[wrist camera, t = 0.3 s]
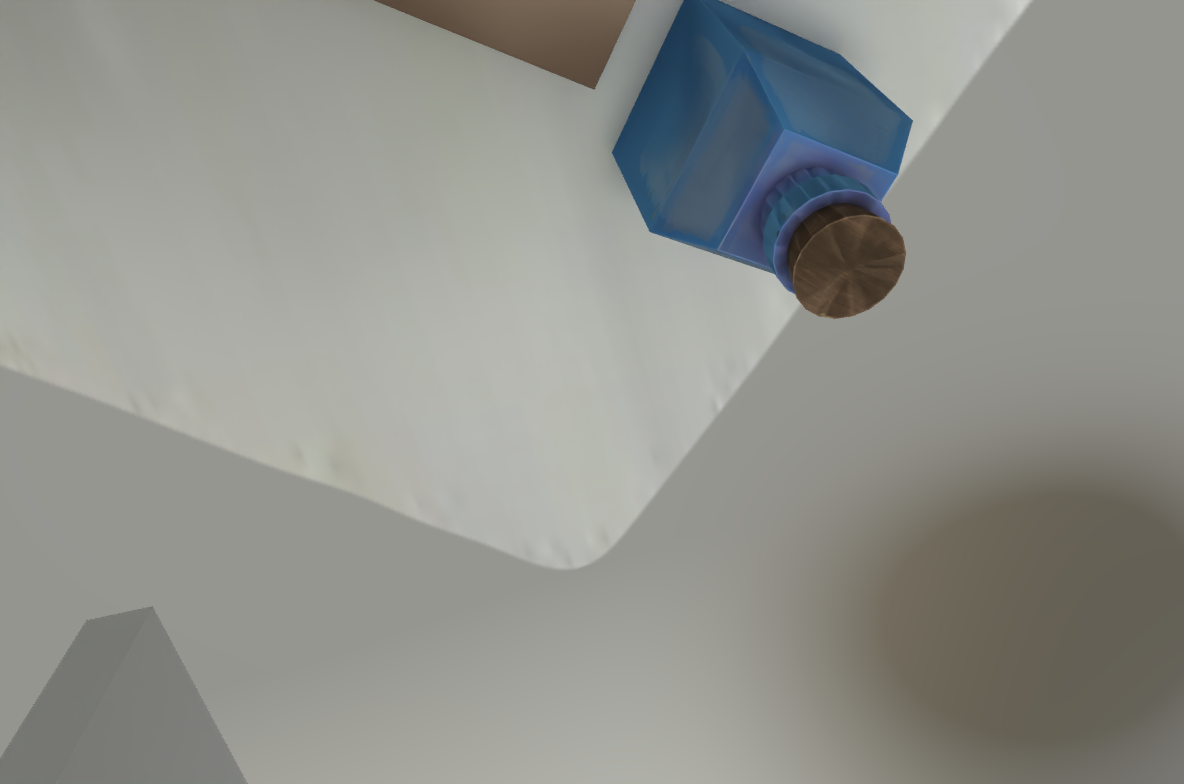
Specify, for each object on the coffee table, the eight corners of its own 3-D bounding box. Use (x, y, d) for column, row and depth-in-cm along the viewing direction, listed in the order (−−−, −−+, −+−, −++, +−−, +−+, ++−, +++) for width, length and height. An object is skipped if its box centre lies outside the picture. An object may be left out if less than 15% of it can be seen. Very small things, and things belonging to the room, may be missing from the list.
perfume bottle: (839, 54, 37) (1004, 203, 28) (755, 204, 40) (878, 385, 31) (689, -13, 35) (813, 125, 25) (611, 152, 38) (697, 331, 28)
